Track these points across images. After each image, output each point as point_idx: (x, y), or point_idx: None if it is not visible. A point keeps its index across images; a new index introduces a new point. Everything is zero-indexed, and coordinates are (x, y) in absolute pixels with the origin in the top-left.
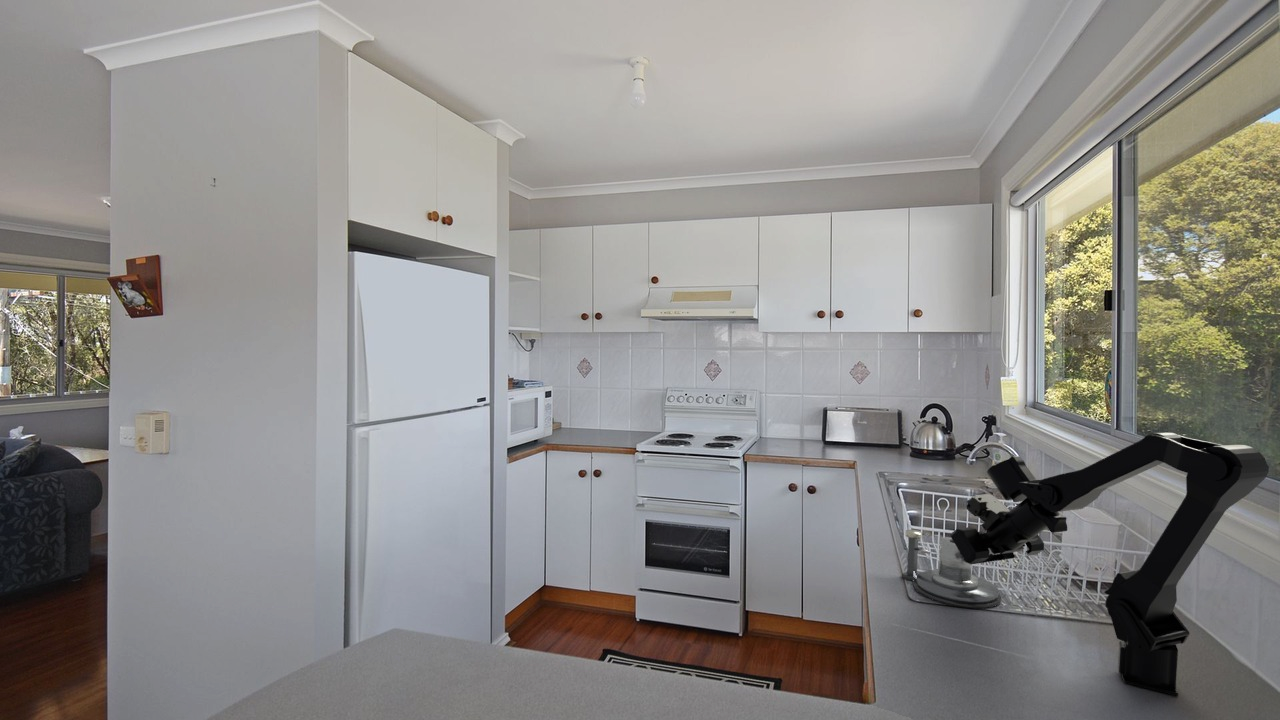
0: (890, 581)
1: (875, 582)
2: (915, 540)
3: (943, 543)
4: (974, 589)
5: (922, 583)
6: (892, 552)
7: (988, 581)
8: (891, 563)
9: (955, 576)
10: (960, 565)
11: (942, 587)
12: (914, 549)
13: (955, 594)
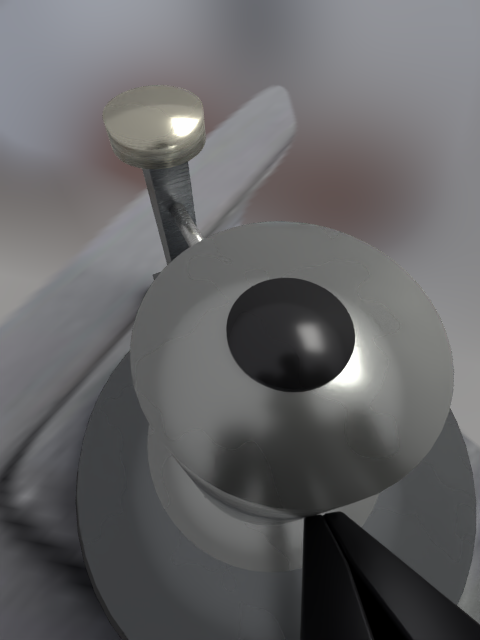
0: (92, 302)
1: (28, 302)
2: (156, 170)
3: (134, 337)
4: None
5: (97, 415)
6: (285, 131)
7: (465, 447)
8: (222, 187)
9: (210, 501)
10: (233, 511)
11: None
12: (161, 214)
13: (145, 606)
